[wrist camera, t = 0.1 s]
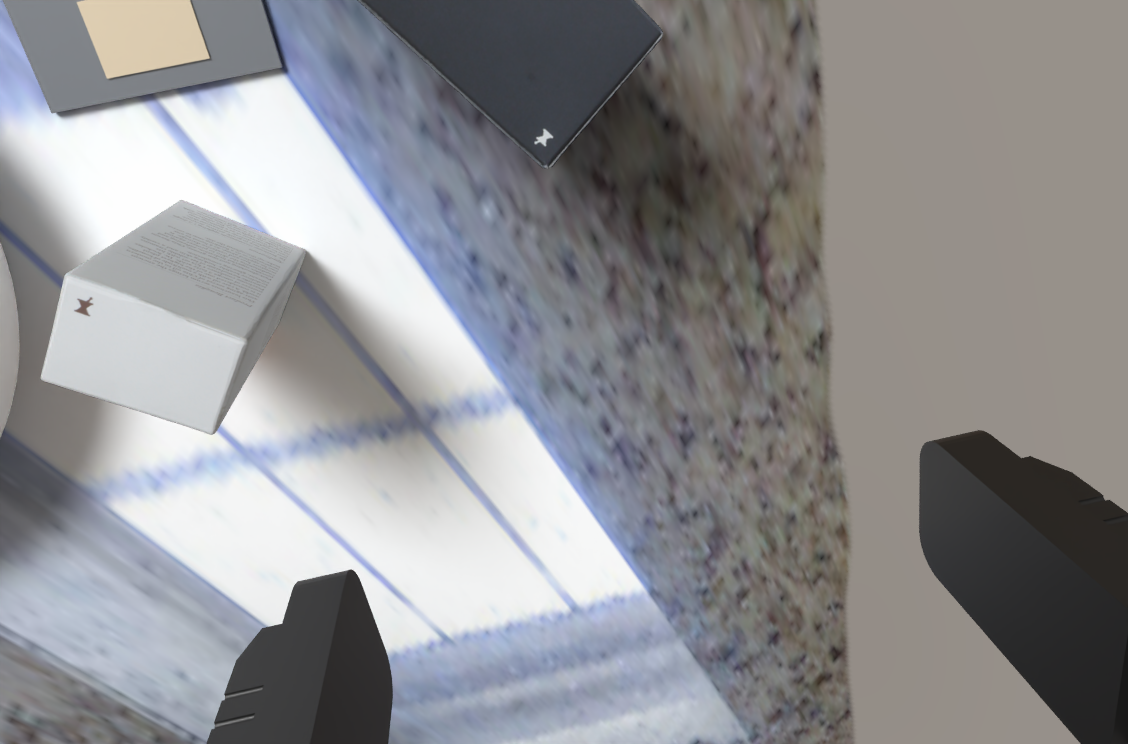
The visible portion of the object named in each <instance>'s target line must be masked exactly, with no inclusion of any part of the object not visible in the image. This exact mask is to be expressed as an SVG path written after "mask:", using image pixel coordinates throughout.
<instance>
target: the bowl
mask: <svg viewBox="0 0 1128 744" xmlns="http://www.w3.org/2000/svg"><path fill="white" fill-rule="evenodd" d="M19 347H20V341H19V320H18V312H17V303H16V298H15V293H14V287H13V282H12V278H11V275H10V271H9V267H8V263H7V260H6V257H5V254H4V251H3V248H2V245H1V242H0V438H1V435H2V433H3V430H4V427H5V425H6V422H7V419H8V416H9V413H10V409H11V406H12V402H13V398H14V393H15V388H16V383H17V375H18V367H19Z"/></svg>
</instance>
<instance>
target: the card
mask: <svg viewBox="0 0 1128 744" xmlns="http://www.w3.org/2000/svg"><path fill="white" fill-rule="evenodd" d="M3 2H4V4H5V7H6V9H7V11H8V14H9V16H10V18H11V20H12V23H13V25H14V27H15V30H16V32H17V34H18V37H19V39H20V41H21V44H22V46H23V48H24V50H25V53H26V55H27V57H28V60H29V62H30V64H31V67H32V69H33V71H34V74H35V76H36V78H37V80H38V83H39V85H40V87H41V90H42V92H43V94H44V97H45V99H46V101H47V104H48V106H49V108H50V110H51V113H56V112H61V111H66V110H71V109H77V108H82V107H87V106H92V105H97V104H102V103H107V102H112V101H117V100H122V99H127V98H132V97H137V96H142V95H147V94H152V93H157V92H162V91H167V90H172V89H177V88H182V87H187V86H192V85H197V84H202V83H207V82H212V81H217V80H222V79H227V78H232V77H237V76H242V75H247V74H252V73H257V72H262V71H267V70H272V69H277V68H282V67H283V64H282V61H281V58H280V55H279V51H278V48H277V45H276V42H275V38H274V35H273V32H272V29H271V25H270V22H269V19H268V16H267V12H266V9H265V6H264V3H263V0H3Z"/></svg>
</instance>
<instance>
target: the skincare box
mask: <svg viewBox="0 0 1128 744" xmlns="http://www.w3.org/2000/svg"><path fill="white" fill-rule="evenodd" d="M305 253H306V251H305V250H304V249H303V248H300V247H297V246H295V245H292V244H290V243H287V242H285V241H283V240H280V239H278V238H275V237H273V236H270V235H268V234H265V233H263V232H260V231H258V230H255V229H253V228H251V227H248V226H246V225H243V224H241V223H238V222H236V221H233V220H231V219H228V218H226V217H223V216H221V215H218V214H216V213H213V212H211V211H208V210H206V209H203V208H201V207H198V206H196V205H194V204H191V203H189V202H187V201H184V200H180V201H179V202H177V203H175V204H174V205H172V206H171V207H169V208H168V209H166V210H165V211H163V212H161V213H160V214H159V215H157V216H155V217H154V218H152V219H151V220H149V221H148V222H146V223H144V224H143V225H141V226H140V227H138V228H137V229H135V230H133V231H132V232H130V233H129V234H127V235H126V236H124V237H123V238H121V239H120V240H118V241H117V242H115V243H113V244H112V245H110V246H109V247H107V248H106V249H104V250H103V251H101V252H99V253H98V254H96V255H95V256H93V257H92V258H90V259H89V260H87V261H86V262H84V263H82V264H81V265H79V266H78V267H76V268H74V269H73V270H71V271H70V272H68V273H67V274H65V276H64V280H63V285H62V289H61V293H60V298H59V302H58V307H57V311H56V315H55V319H54V324H53V328H52V332H51V336H50V341H49V345H48V349H47V353H46V357H45V361H44V365H43V369H42V374H41V380H43V381H44V382H48V383H51V384H54V385H57V386H60V387H63V388H67V389H70V390H73V391H76V392H79V393H82V394H85V395H88V396H91V397H95V398H98V399H101V400H104V401H107V402H111V403H114V404H117V405H120V406H123V407H127V408H130V409H133V410H136V411H140V412H143V413H146V414H149V415H152V416H155V417H159V418H162V419H165V420H168V421H171V422H174V423H177V424H181V425H184V426H187V427H190V428H193V429H196V430H199V431H202V432H205V433H207V434H211V435H212V434H214V433H215V432H216V431H217V430H218V428H219V426H220V424H221V423H222V421H223V419H224V417H225V416H226V414H227V412H228V410H229V409H230V407H231V405H232V403H233V402H234V400H235V398H236V397H237V395H238V393H239V391H240V390H241V388H242V386H243V384H244V383H245V381H246V379H247V377H248V376H249V374H250V372H251V370H252V369H253V367H254V365H255V363H256V362H257V360H258V358H259V357H260V355H261V353H262V352H263V350H264V348H265V346H266V345H267V343H268V341H269V339H270V338H271V336H272V334H273V333H274V331H275V329H276V328H277V326H278V324H279V322H280V319H281V317H282V314H283V311H284V309H285V306H286V304H287V301H288V299H289V296H290V293H291V291H292V288H293V286H294V283H295V281H296V278H297V276H298V273H299V270H300V268H301V265H302V262H303V260H304V257H305Z"/></svg>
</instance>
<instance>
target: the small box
mask: <svg viewBox="0 0 1128 744" xmlns="http://www.w3.org/2000/svg"><path fill="white" fill-rule="evenodd" d="M357 1H359V2H360V3H361V4H362V5H363V6H364V7H365V8H366V9H368V10H369V11H370V12H371V13H372V14H373V15H374V16H375V17H376V18H377V19H378V20H380V21H381V22H382V23H383V24H384V25H385V26H386V27H387V28H388V29H389V30H390V31H391V32H392V33H393V34H395V35H396V36H397V37H398V38H399V39H400V40H401V41H403V42H404V43H405V44H406V45H407V46H408V47H409V48H410V49H411V50H412V51H413V52H414V53H415V54H417V55H418V56H419V57H420V58H421V59H422V60H423V61H425V62H426V63H427V64H428V65H429V66H430V67H431V68H432V69H434V70H435V71H436V73H438V74H439V75H440V76H441V77H442V78H443V79H444V80H445V81H447V82H448V83H449V84H450V85H451V86H452V87H453V88H454V89H456V90H457V91H458V92H459V93H460V94H461V95H462V96H463V97H464V98H466V99H467V100H468V101H469V102H470V103H471V104H472V105H473V106H474V107H475V108H476V109H478V110H479V111H480V112H481V113H482V114H483V115H484V116H485V117H486V118H487V119H488V120H489V121H490V122H492V123H493V124H494V125H495V126H496V127H497V128H499V129H500V130H501V131H502V132H503V133H504V134H505V135H506V136H507V137H508V138H510V139H511V140H512V141H513V142H514V143H515V144H516V145H517V146H519V147H520V148H521V149H522V150H523V151H524V152H525V153H526V154H527V155H528V156H530V157H531V158H532V159H533V160H534V161H535V162H536V163H537V164H538V165H540V166H541V167H542V168H551V167H553V166H554V164H555V163H556V162H557V160H558V159H559V158H560V156H561V155H562V154H563V153H564V152H565V151H566V150H567V148H568V147H569V146H570V145H571V144H572V142H573V141H574V140H575V139H576V138H577V137H578V135H579V134H580V133H581V132H582V131H583V130H584V128H585V127H586V126H587V125H588V124H589V123H590V122H591V121H592V120H593V118H594V117H595V116H596V114H597V113H598V112H599V111H600V110H601V108H602V107H603V106H604V105H605V104H606V103H607V101H608V100H609V99H610V98H611V97H612V96H613V95H614V93H615V92H616V91H617V90H618V89H619V88H620V87H621V85H622V84H623V83H624V82H625V81H626V80H627V79H628V77H629V76H630V75H631V74H632V72H633V71H634V70H635V69H636V68H637V67H638V66H639V65H640V64H641V62H642V61H643V60H644V59H645V57H646V56H647V55H648V54H649V53H650V52H651V51H652V50H653V49H654V47H655V46H656V44H657V43H658V42H659V41H660V40H661V38H662V36H663V31H662V30H661V28H660V27H659V26H658V25H657V24H656V23H655V22H654V21H653V20H652V19H651V18H650V17H649V15H648V14H647V13H646V12H645V11H644V10H643V9H642V8H641V7H640V6H639V5H638V4H637V3H636V2H635V1H634V0H357Z"/></svg>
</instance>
